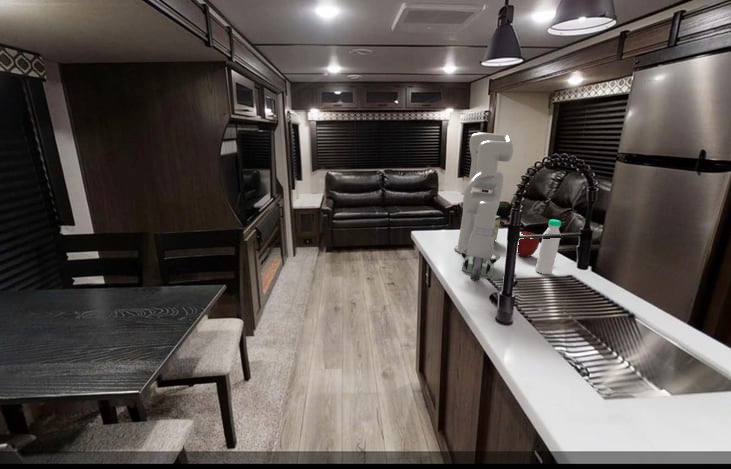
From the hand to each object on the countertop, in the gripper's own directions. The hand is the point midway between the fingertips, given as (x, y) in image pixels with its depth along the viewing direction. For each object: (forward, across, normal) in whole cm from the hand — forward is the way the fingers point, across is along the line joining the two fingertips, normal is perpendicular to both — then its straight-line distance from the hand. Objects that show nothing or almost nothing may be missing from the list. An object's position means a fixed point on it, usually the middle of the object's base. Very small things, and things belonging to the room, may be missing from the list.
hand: (476, 270), depth 144 cm
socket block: (+4, 0, -13) cm, 14 cm away
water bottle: (+4, -28, -25) cm, 38 cm away
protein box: (+4, +2, -57) cm, 57 cm away
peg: (+4, 0, 0) cm, 4 cm away
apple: (+4, -20, -45) cm, 49 cm away
